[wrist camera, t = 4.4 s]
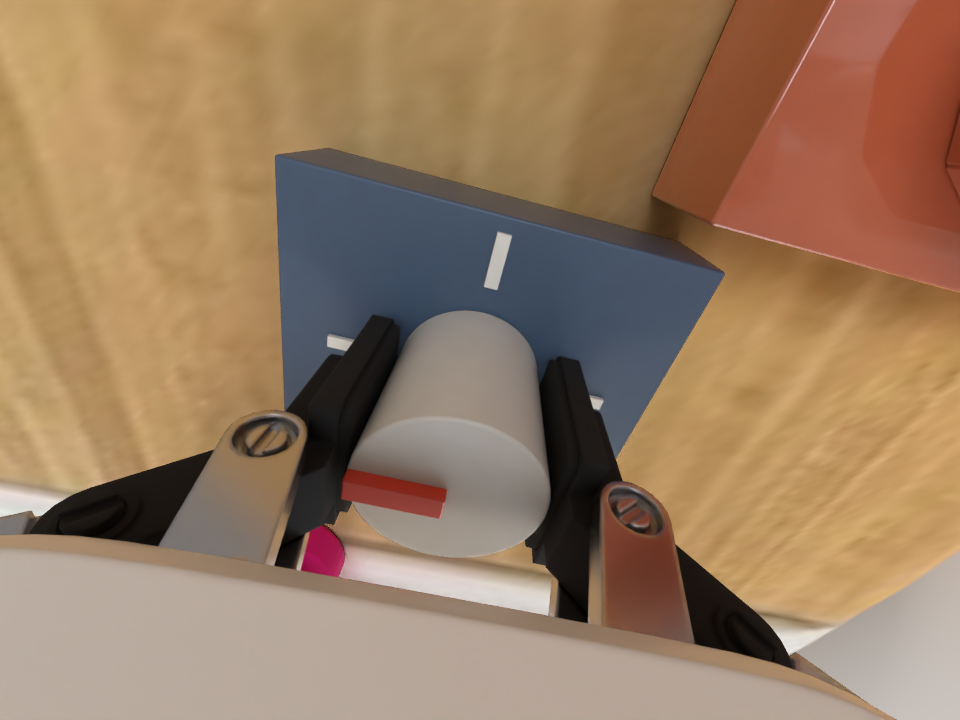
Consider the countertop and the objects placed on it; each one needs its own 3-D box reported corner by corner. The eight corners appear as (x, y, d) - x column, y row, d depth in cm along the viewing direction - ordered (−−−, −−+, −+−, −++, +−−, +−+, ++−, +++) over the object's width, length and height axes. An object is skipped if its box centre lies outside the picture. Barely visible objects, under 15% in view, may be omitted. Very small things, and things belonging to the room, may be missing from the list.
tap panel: (680, 241, 12) (730, 275, 9) (576, 447, 17) (589, 509, 14) (326, 146, 11) (269, 154, 9) (320, 389, 16) (282, 444, 13)
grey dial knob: (555, 328, 10) (585, 459, 6) (515, 436, 13) (518, 587, 8) (409, 293, 10) (343, 406, 6) (393, 409, 12) (335, 551, 8)
